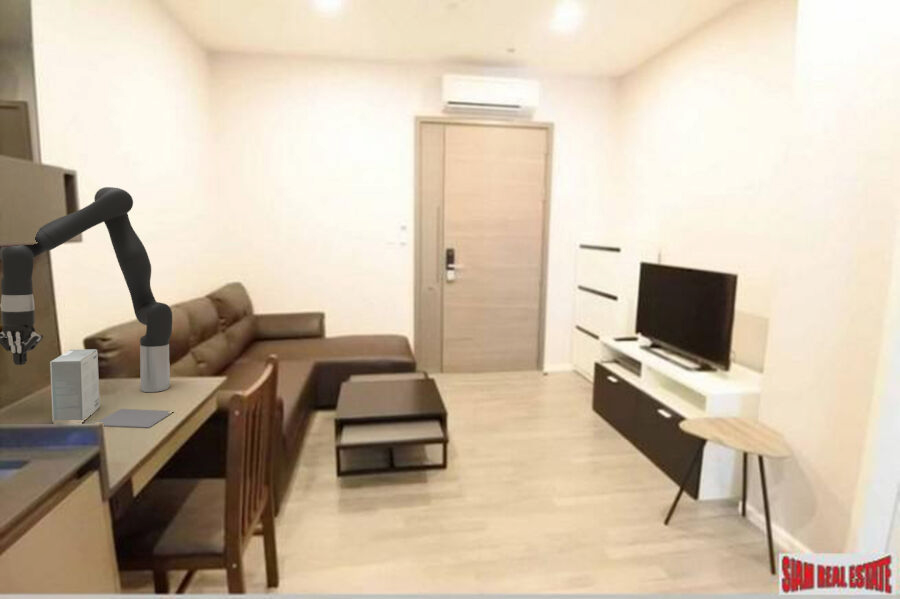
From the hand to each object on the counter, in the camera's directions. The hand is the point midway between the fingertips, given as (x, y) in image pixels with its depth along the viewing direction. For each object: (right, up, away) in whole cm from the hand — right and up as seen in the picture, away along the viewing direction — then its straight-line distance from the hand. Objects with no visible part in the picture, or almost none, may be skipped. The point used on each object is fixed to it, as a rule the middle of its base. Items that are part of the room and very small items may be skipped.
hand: (20, 364), depth 145 cm
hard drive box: (+16, -17, +3) cm, 23 cm away
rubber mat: (+33, -18, +3) cm, 38 cm away
